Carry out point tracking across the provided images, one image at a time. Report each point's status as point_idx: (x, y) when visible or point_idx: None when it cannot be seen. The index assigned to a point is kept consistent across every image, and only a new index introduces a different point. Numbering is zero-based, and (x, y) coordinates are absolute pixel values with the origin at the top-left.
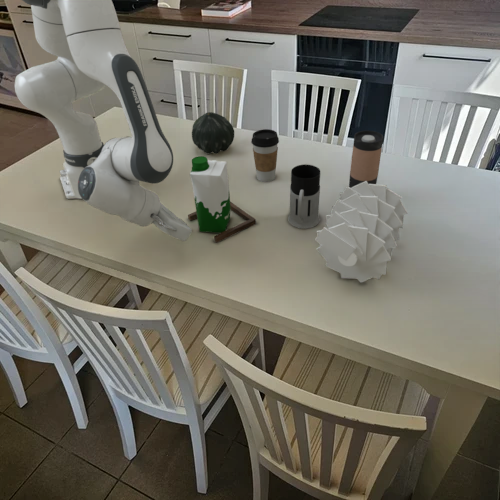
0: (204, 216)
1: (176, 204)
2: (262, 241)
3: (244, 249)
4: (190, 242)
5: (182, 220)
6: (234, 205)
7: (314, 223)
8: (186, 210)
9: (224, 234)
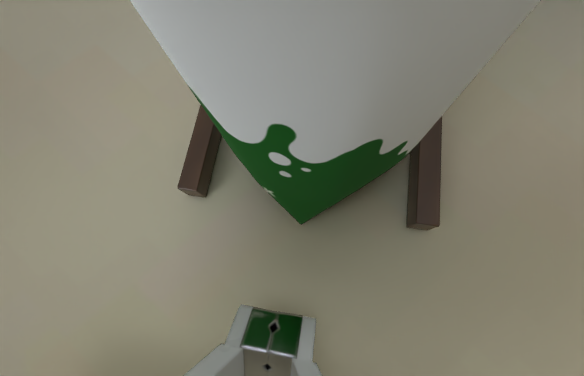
0: (354, 188)
1: (66, 156)
2: (554, 97)
3: (555, 181)
4: (332, 313)
5: (265, 320)
6: None
7: None
8: (134, 157)
9: (440, 178)
